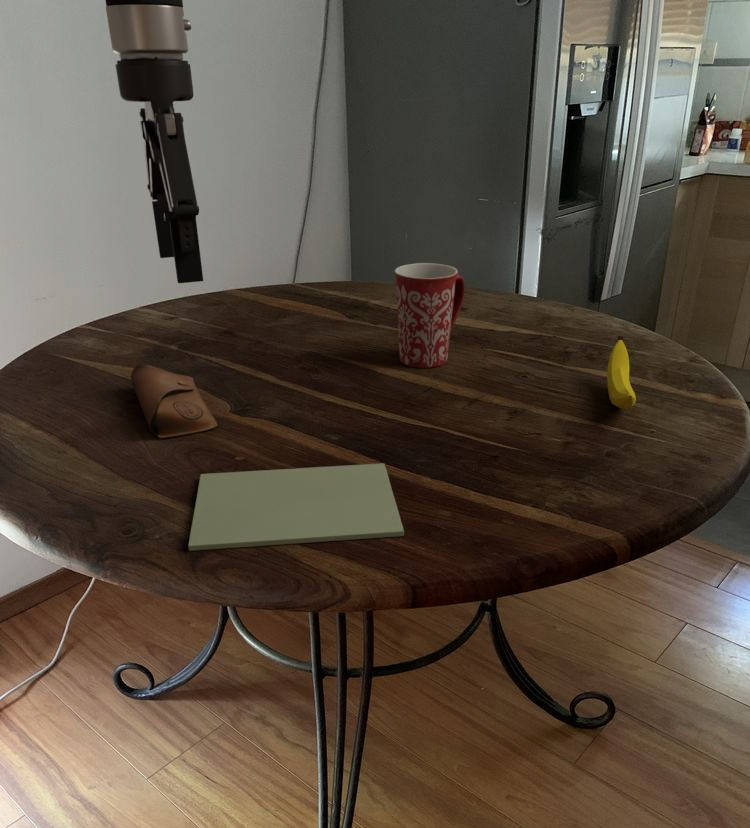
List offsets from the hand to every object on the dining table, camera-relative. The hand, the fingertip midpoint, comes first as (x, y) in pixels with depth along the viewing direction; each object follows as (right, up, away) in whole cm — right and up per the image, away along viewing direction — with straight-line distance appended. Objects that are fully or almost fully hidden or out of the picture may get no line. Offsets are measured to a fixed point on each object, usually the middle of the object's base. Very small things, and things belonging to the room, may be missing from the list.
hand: (180, 268), depth 86 cm
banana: (+55, -15, +11) cm, 58 cm away
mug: (+32, -6, +27) cm, 42 cm away
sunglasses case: (-3, -15, +10) cm, 19 cm away
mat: (+15, -28, -12) cm, 34 cm away
